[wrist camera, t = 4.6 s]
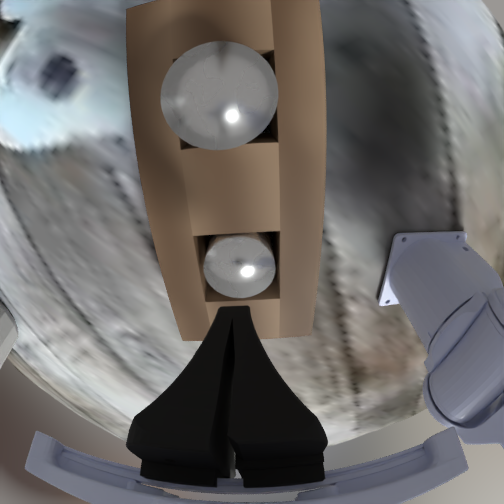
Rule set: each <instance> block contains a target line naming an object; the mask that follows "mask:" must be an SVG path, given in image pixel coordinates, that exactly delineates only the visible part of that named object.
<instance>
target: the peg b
mask: <svg viewBox="0 0 504 504" xmlns="http://www.w3.org/2000/svg"><path fill="white" fill-rule="evenodd" d="M203 269H204V275H205V278H206V280H207V281H208V283H209V284H210V286H211V287H212V288H213V289H215V290H216V291H217V292H219V293H221V294H223V295H225V296H228V297H233V298H247V297H251V296H254V295H257V294H259V293H261V292H262V291H264V290H265V289H266V288H267V287H268V286H269V285H270V284H271V282H272V280H273V278H274V275H275V261H274V255H273V249H272V243H271V237H270V231H267V232H248V233H231V234H214V235H211V236H210V240H209V244H208V248H207V252H206V257H205V261H204V268H203Z"/></svg>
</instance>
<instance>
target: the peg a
mask: <svg viewBox="0 0 504 504" xmlns="http://www.w3.org/2000/svg"><path fill="white" fill-rule="evenodd" d="M277 103H278V84H277V80H276V77H275V74H274V72H273V70H272V68H271V67H270V65H269V64H268V62H267V61H266V60H265V59H264V58H263V57H262V56H261V55H260V54H259V53H257V52H256V51H254V50H253V49H251V48H249V47H247V46H245V45H242V44H239V43H234V42H228V41H215V42H209V43H205V44H201V45H199V46H196V47H194V48H192V49H190V50H189V51H187V52H185V53H184V54H183V55H181V56H180V57H179V58H178V59H177V60H176V61H175V62H174V63H173V65H172V66H171V67H170V69H169V70H168V72H167V74H166V76H165V78H164V81H163V84H162V88H161V107H162V112H163V115H164V117H165V119H166V122H167V123H168V125H169V126H170V128H171V129H172V130H173V131H174V133H175V134H176V135H178V136H179V137H180V138H181V139H183V140H184V141H186V142H187V143H189V144H191V145H193V146H196V147H199V148H203V149H208V150H226V149H231V148H235V147H238V146H241V145H243V144H246V143H247V142H249V141H251V140H252V139H254V138H255V137H257V136H258V135H259V134H260V133H261V132H262V131H263V130H264V129H265V128H266V127H267V126H268V124H269V123H270V121H271V119H272V117H273V115H274V113H275V110H276V107H277Z"/></svg>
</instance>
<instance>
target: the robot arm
mask: <svg viewBox="0 0 504 504" xmlns="http://www.w3.org/2000/svg"><path fill="white" fill-rule="evenodd" d="M404 237H405V238H404ZM403 238H404V240H402V239H403ZM466 238H467V234H466V232H464V231H450V232H417V233H397V234H396V235H395V236H394V238H393V242H392V247H391V252H390V256H389V261H388V265H387V269H386V273H385V277H384V281H383V285H382V288H381V292H380V296H379V299H378V303H379V305H380V306H385V305H392V304H398V303H400V305H401V307H402V308H403V310H404V312H405V313H406V315H407V317H408V318H409V320H410V322H411V324H412V325H413V327H414V329H415V331H416V332H417V334H418V336H419V338H420V340H421V341H422V343H423V345H424V347H425V349H426V351H427V353H428V357H427V359H426V360H425V361H424V364H425V366H426V368H427V370H428V372H429V373H428V374H427V375H426V377H425V379H424V382H423V396H424V400H425V403H426V406H427V408H428V410H429V412H430V413H431V415H432V416H433V417H434V418H435V419H436V420H437V421H438V422H440V423H441V424H442V425H444V426H446V427H447V428H448V429H446V430H444V431H442V432H440V433H437V434H435V435H433V436H431V437H430V438H429V439H427V440H426V441H425V442H424V443H423V444H420V445H418V446H415V447H412V448H410V449H407V450H404V451H402V452H399V453H395V454H392V455H389V456H386V457H383V458H380V459H376V460H373V461H369V462H365V463H362V464H357V465H353V466H349V467H344V468H339V469H335V470H329V471H324V466H323V462H324V456H323V451H324V450H325V448H326V446H327V445H328V440H327V437H326V434H325V431H324V429H323V427H322V425H321V423H320V422H319V420H318V418H317V417H316V416H315V415H314V414H313V413H312V412H311V411H310V410H309V409H308V408H307V407H306V406H305V405H304V404H303V403H302V402H301V401H300V400H299V399H298V397H297V396H296V395H295V394H294V393H293V392H292V390H291V389H290V388H289V387H288V385H287V384H286V383H285V382H284V380H283V379H282V378H281V376H280V375H279V373H278V372H277V370H276V369H275V367H274V366H273V364H272V362H271V361H270V359H269V357H268V355H267V354H266V352H265V350H264V348H263V346H262V344H261V342H260V339H259V337H258V335H257V332H256V330H255V327H254V324H253V321H252V317H251V312H250V307H249V306H248V305H244V306H221V307H219V308H218V311H217V314H216V316H215V318H214V321H213V323H212V325H211V327H210V329H209V331H208V333H207V334H206V336H205V338H204V340H203V342H202V344H201V345H200V347H199V348H198V350H197V351H196V353H195V355H194V356H193V358H192V359H191V361H190V362H189V363H188V365H187V366H186V367H185V369H184V370H183V371H182V372H181V374H180V375H179V376H178V377H177V378H176V379H175V381H174V382H173V383H172V384H171V385H170V386H169V387H168V388H167V389H166V390H165V391H164V392H163V393H162V394H161V395H160V396H159V397H158V398H157V399H156V400H155V401H153V402H152V403H151V404H150V405H149V406H147V407H146V408H145V409H144V410H142V411H141V412H140V413H138V414H137V415H136V416H135V417H134V419H133V421H132V424H131V426H130V429H129V433H128V438H127V442H126V447H127V448H128V449H129V450H130V451H131V452H132V453H133V454H135V455H136V456H137V457H139V458H140V459H142V463H141V468H136V467H132V466H127V465H123V464H119V463H115V462H112V461H108V460H104V459H101V458H98V457H94V456H92V455H88V454H85V453H82V452H80V451H77V450H74V449H71V448H69V447H66V446H64V445H63V444H61V443H60V442H59V441H57V440H56V439H54V438H52V437H50V436H48V435H46V434H43V433H41V432H39V431H36V433H35V436H34V439H33V442H32V446H31V449H30V452H29V455H28V458H27V462H26V465H25V469H26V470H27V471H28V472H30V473H32V474H33V475H35V476H37V477H39V478H40V479H42V480H44V481H46V482H48V483H49V484H51V485H53V486H55V487H57V488H59V489H61V490H63V491H65V492H67V493H69V494H71V495H73V496H75V497H78V498H80V499H82V500H84V501H87V502H89V503H92V504H401V503H404V502H406V501H408V500H411V499H413V498H415V497H418V496H420V495H422V494H424V493H426V492H428V491H430V490H432V489H434V488H436V487H438V486H440V485H442V484H444V483H446V482H448V481H450V480H452V479H453V478H455V477H457V476H458V475H460V474H462V473H464V472H465V471H467V470H468V465H467V461H466V459H465V455H464V452H463V449H462V447H461V444H460V441H459V438H458V436H459V437H460V438H461V439H462V440H463V442H464V443H465V444H495V443H496V444H501V446H502V447H503V448H504V287H503V284H502V281H501V279H500V277H499V275H498V274H497V272H496V271H495V270H494V269H493V268H492V267H491V266H490V265H489V264H488V263H487V262H486V261H485V260H484V259H483V258H482V257H481V256H480V255H479V254H478V253H477V252H475V251H474V250H473V249H472V248H471V247H470V246H469V245H468V244H467V243H466V242H465V241H466ZM235 469H237V470H238V471H239V473H240V475H241V477H242V479H234V477H235V476H236V472H235ZM141 483H142V484H141ZM143 484H147V485H152V486H157V487H163V488H168V489H176V490H182V491H191V492H201V493H215V494H269V493H283V492H293V491H302V490H309V489H315V490H309V491H305V492H300V493H298V497H296V498H295V501H285V502H261V503H258V502H257V503H249V502H246V503H245V502H216V501H202V500H191V499H181V498H179V496H176V495H173V494H170V493H167V492H165V491H164V490H162V489H158V488H154V487H150V486H146V485H143ZM322 487H323V488H322ZM316 488H318V489H316Z"/></svg>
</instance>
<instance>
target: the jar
mask: <svg viewBox="0 0 504 504" xmlns="http://www.w3.org/2000/svg"><path fill="white" fill-rule="evenodd" d="M17 338H18V328H17V325H16V322H15V319H14V318H13V316H12V315H11V313H10V312H9V310H8V309H7V308H6V307H5V306H4V305H3V303H2V302H1V301H0V368H1V366H2V364H3V363H4V361H5V359H6V357H7V356H8V354H9V352H10V351H11V349H12V347H13V346H14V344H15V342H16V341H17Z"/></svg>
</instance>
